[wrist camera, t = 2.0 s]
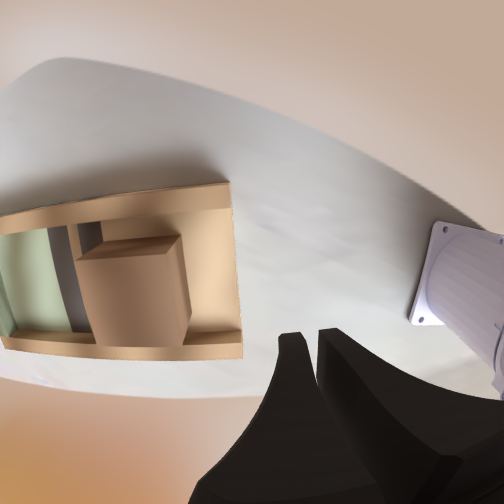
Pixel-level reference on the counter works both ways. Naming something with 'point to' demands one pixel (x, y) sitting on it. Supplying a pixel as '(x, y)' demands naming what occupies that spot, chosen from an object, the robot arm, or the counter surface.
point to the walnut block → (136, 292)
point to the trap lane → (108, 229)
